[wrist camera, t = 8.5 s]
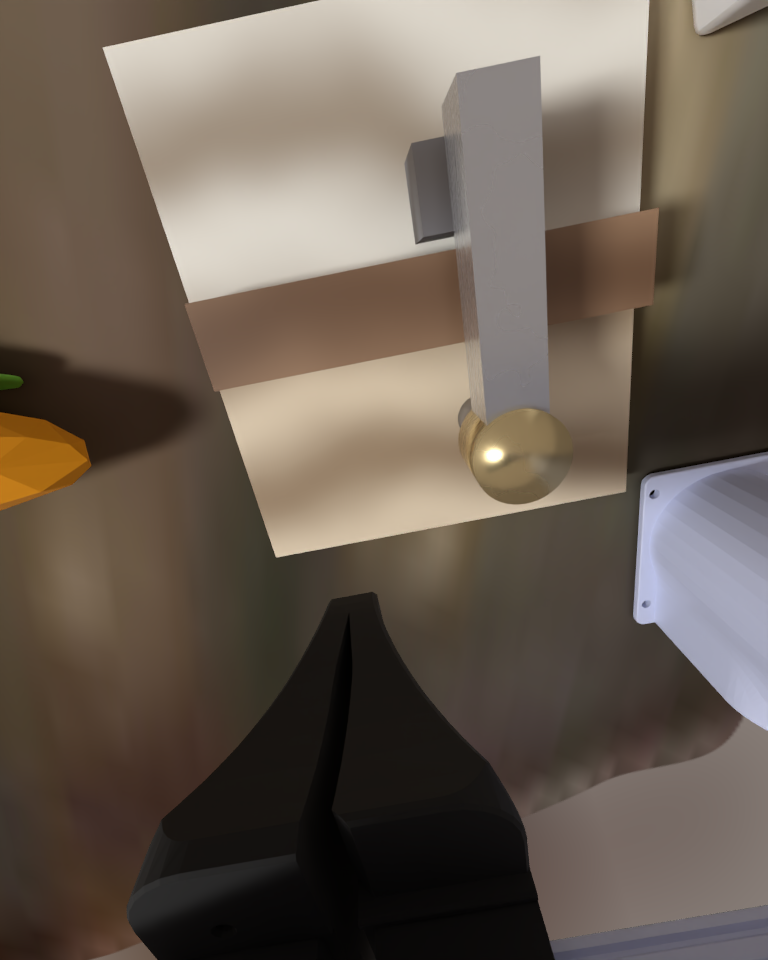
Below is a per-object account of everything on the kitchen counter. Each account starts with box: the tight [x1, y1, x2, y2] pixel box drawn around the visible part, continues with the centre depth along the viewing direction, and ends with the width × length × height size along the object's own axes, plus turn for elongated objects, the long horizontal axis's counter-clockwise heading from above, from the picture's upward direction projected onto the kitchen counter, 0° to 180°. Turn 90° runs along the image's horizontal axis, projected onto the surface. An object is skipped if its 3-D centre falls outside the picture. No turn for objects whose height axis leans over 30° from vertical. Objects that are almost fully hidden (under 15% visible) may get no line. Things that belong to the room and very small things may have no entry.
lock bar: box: [441, 56, 573, 505], centre depth 13 cm, size 12×3×2 cm, turn 10°
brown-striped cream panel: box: [103, 0, 659, 557], centre depth 16 cm, size 19×17×4 cm
